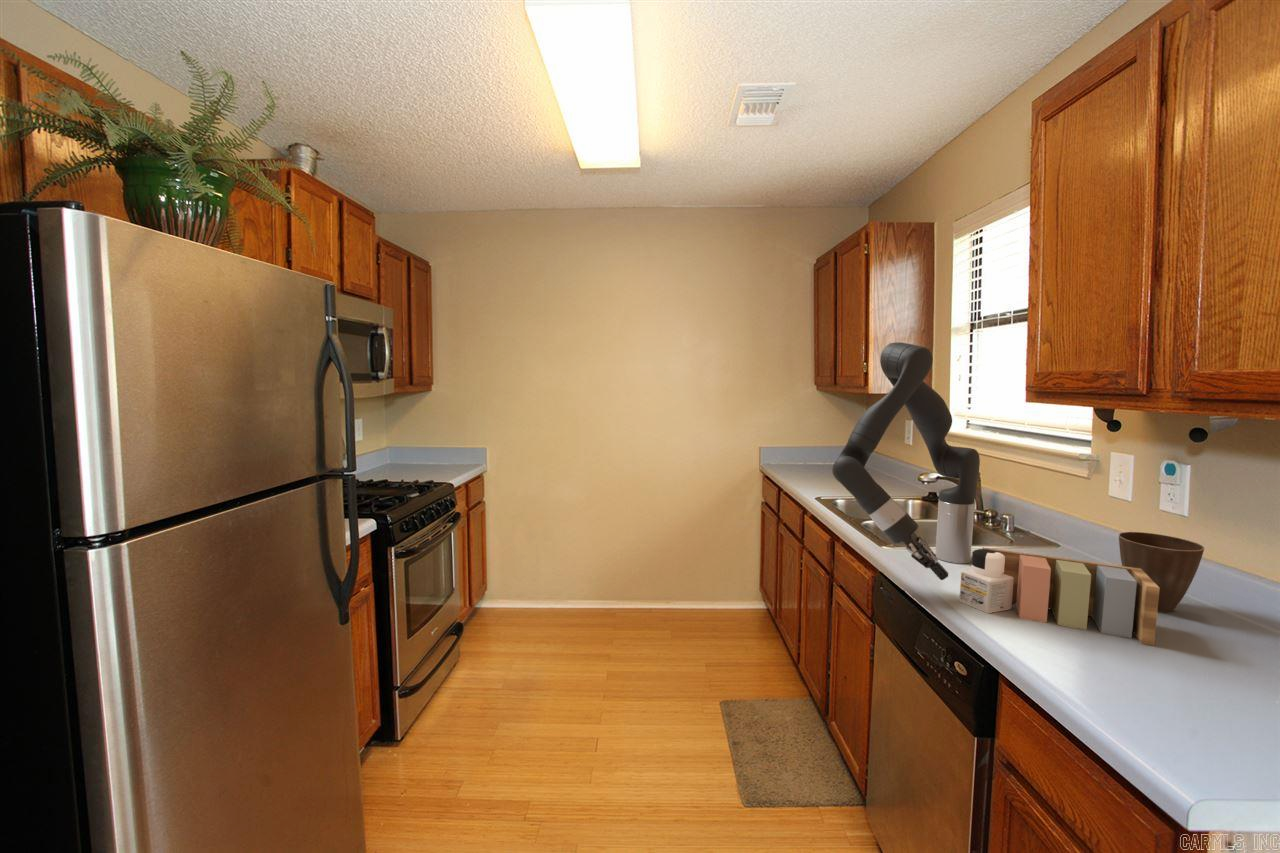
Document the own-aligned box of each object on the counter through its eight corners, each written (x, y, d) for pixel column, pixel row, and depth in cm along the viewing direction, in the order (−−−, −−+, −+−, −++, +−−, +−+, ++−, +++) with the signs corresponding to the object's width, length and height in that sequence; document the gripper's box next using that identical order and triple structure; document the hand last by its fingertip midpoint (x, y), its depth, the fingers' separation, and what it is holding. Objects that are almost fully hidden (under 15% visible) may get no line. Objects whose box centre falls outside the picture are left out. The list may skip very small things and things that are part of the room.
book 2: (1052, 610, 133) (1056, 559, 132) (1078, 614, 131) (1083, 563, 130) (1057, 624, 126) (1062, 570, 124) (1086, 629, 123) (1091, 575, 122)
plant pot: (1202, 609, 135) (1209, 542, 134) (1191, 625, 126) (1198, 554, 125) (1121, 590, 147) (1127, 528, 145) (1105, 604, 138) (1111, 538, 136)
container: (958, 601, 138) (962, 548, 137) (982, 597, 141) (985, 545, 139) (988, 614, 131) (992, 558, 130) (1012, 609, 133) (1016, 554, 132)
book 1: (1016, 604, 137) (1019, 554, 136) (1041, 608, 134) (1045, 558, 133) (1019, 617, 129) (1023, 565, 128) (1046, 622, 127) (1050, 569, 125)
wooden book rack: (979, 594, 142) (982, 547, 141) (1136, 621, 128) (1140, 568, 127) (981, 614, 130) (984, 562, 129) (1154, 646, 116) (1159, 588, 115)
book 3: (1092, 617, 130) (1097, 565, 129) (1120, 622, 127) (1125, 569, 126) (1101, 632, 122) (1106, 577, 121) (1131, 637, 120) (1136, 581, 118)
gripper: (903, 517, 137) (958, 576, 132) (907, 506, 148) (958, 561, 144) (877, 535, 140) (931, 594, 135) (884, 524, 151) (933, 578, 147)
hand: (945, 577), depth 139 cm, fingers closed
